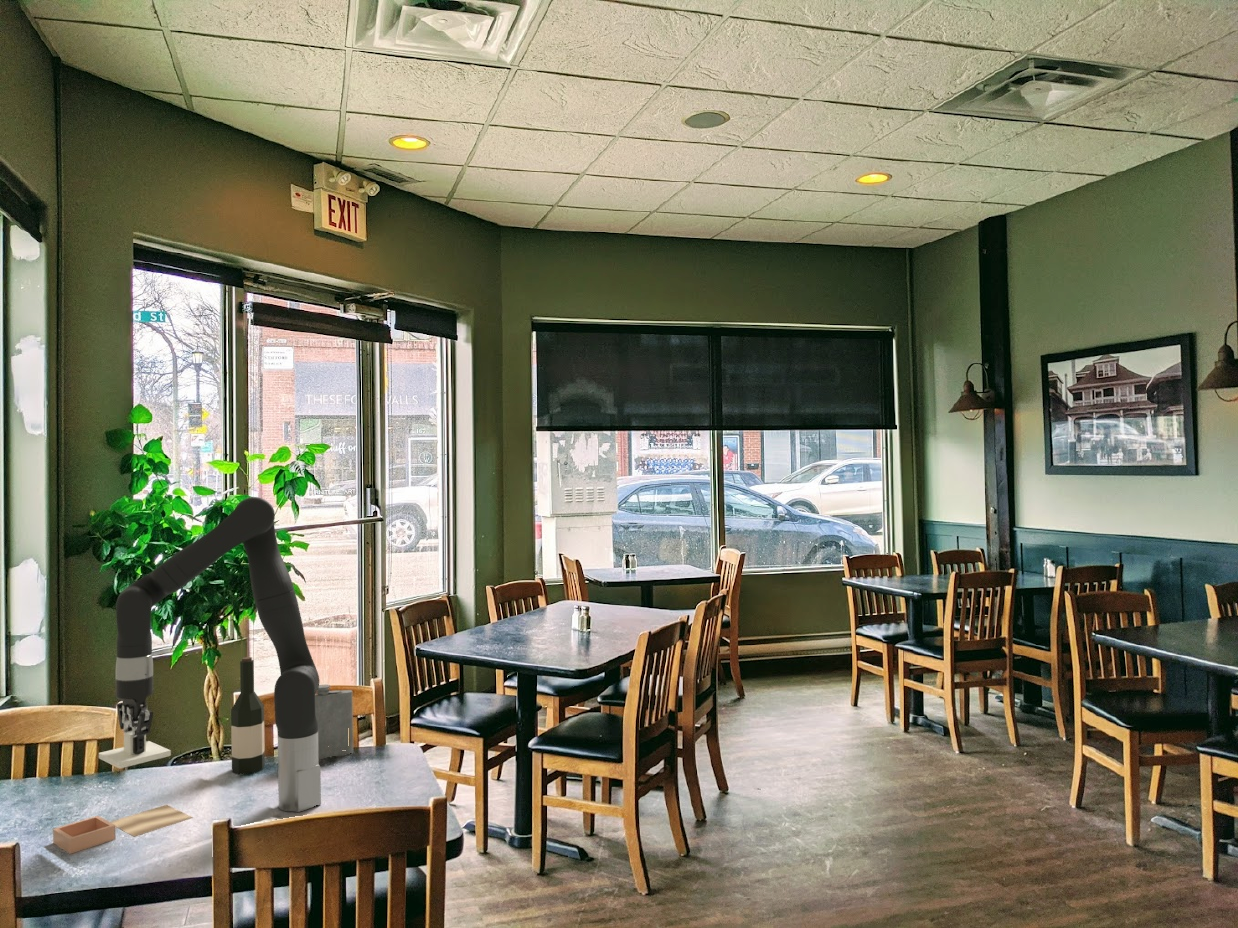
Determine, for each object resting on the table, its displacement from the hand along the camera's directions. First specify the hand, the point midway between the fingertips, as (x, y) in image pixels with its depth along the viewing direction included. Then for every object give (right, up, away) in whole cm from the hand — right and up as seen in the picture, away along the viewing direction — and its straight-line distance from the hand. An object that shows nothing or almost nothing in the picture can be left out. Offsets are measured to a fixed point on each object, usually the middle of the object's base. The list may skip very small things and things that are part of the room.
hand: (134, 750), depth 202 cm
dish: (-6, -18, -9) cm, 21 cm away
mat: (+3, -18, +2) cm, 18 cm away
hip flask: (+27, -17, +48) cm, 58 cm away
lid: (0, -1, 0) cm, 1 cm away
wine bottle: (+10, -18, +39) cm, 44 cm away
